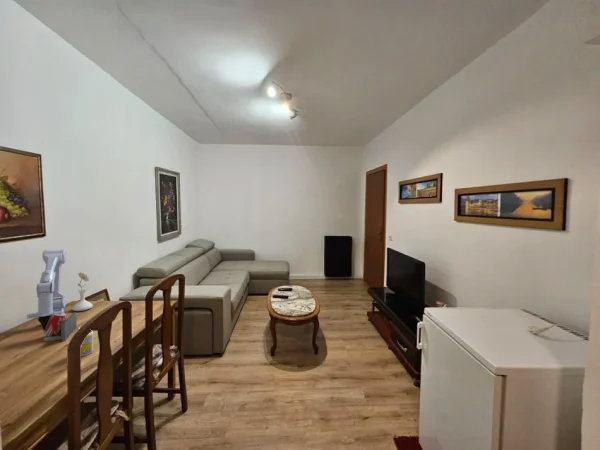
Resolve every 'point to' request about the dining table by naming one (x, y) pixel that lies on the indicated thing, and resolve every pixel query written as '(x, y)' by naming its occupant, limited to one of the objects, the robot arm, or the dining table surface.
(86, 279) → the flower in vase
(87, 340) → the supplement bottle
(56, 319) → the soda can
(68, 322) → the grey bookend
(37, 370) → the dining table surface
